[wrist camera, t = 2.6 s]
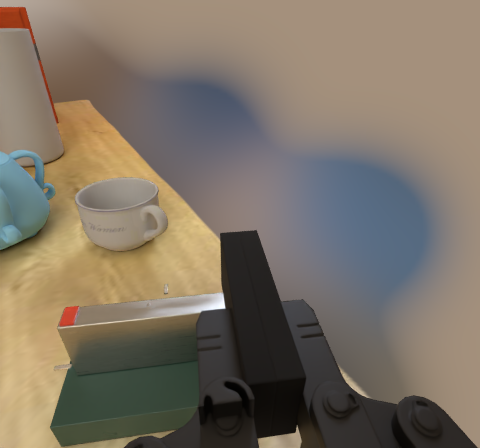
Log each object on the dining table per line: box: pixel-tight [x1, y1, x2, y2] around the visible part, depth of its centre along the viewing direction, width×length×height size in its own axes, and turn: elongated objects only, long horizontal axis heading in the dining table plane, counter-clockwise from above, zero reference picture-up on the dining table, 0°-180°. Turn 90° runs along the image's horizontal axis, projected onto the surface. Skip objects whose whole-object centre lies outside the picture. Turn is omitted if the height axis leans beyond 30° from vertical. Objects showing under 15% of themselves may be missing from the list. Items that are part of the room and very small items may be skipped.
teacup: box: [75, 177, 168, 251], centre depth 47 cm, size 14×11×8 cm
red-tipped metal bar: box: [57, 293, 225, 375], centre depth 28 cm, size 14×2×6 cm, turn 98°
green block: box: [50, 284, 199, 447], centre depth 31 cm, size 18×18×3 cm
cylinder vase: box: [0, 28, 64, 167], centre depth 69 cm, size 12×12×25 cm
